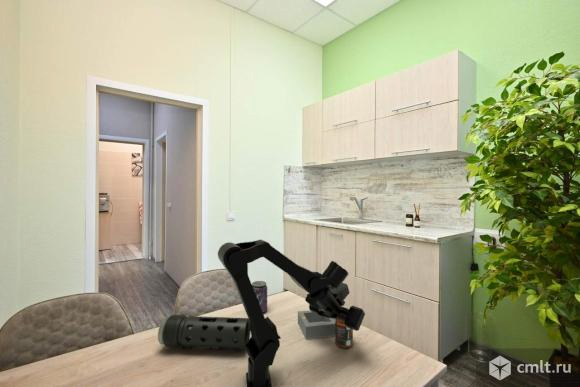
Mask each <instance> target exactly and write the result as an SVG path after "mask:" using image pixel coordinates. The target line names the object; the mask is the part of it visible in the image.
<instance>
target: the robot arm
mask: <svg viewBox="0 0 580 387" xmlns="http://www.w3.org/2000/svg"><path fill="white" fill-rule="evenodd" d="M217 257H218V260H219V262H221V264H222V266H223V267H224V269H225V271H227V273H228V275H229V276H230V277H231V279H232V281H233V284H234V285H235V288H236V291H237V294H238V296H239V299H240V301H241V303H242V306H243V309H244V311H245V313H246V316H247V318H249V321H250V338H249V340H248V341H247V343H246V344H245V345H244V349H245V350H244V351H245V353H246V355H247V356H248V358H247V372H246V373H245V380H246V381H245V382H246V387H273V386H272V385H273V384H272V383H273V382H272V378H271V374H270V366H273V364H274V361H275V357H276V354H277V352H278V351H279V348H280V346H281V343H280V340H281V339H282V337H281V336H280V335H279V332H278V328H277V326H276V324H275V323H274V322H273V321H272V319H270V317H269V316H266V317H265V316H264V313H263V312H262V310H261V307H260V304H259V302H258V299H257V297H256V294H255V292H254V289H253V287H252V282H251V279H250V276H249V264H250V263H253V262H254V261H257V260H259V259H260V258H261V259H262V258H264V259H266V260H267V261H269V262H270V263H271V264H272V265H274V266H276V267H277V268H279V270H281V271H283V272H284V273H286V274H287V275H288V276H289V277H290V279H291V280H292V281H293V282H294V283H295V284H296V285H297V287H299V288H301V289H302V290H304V291H305V292H307V294H306V297H305V299H304V300H305V302H306V303H307V304H308V310H311V312H314V313H316V314H318V315H320V316H324V317H328V318H332V319H337V317H338V316H339V315H340V314H341V315H343V316H346V318H345V325H346V326H347V327H348V328H350V329H353V331H356V332H357V331H359V330H360V328H361V326H362V324H363V320H364V317H365V315H366V313H365V311H364V309H363V308H360V307H358V306H356V305H351V306H350V307H349V308H347V307H344V306H345V305H346V301H345V300H346V298H347V297H348V296H349V295H350V289H349V286H348V284H347V283H346V282H345V283H344V281H345V280H346V279H347V277H348V276H349V272H348V271H347V269H345V268H343V267H342V266H341V265H339V264H338V263H337V261H334V260H331V261H330V262H329V264H328V266H327V267H326V268H325V269H324V271H323V273H320V272H318V271H311V270H310V269H307V268H306V267H303V266H301V265H299V264H297V263H296V262H294V261H293V260H292V259H291V258H289V257H287V256H286V255H284V254H283V253H282V252H280V251H279V250H278V249H276V248H275V247H274V246H272V245H271V244H270V243H269V242H268V241H265V240H263V239H257V240H253V241H244V242H238V243H234V242H226V243H222V245H221V246H219V249H218V251H217Z"/></svg>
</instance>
